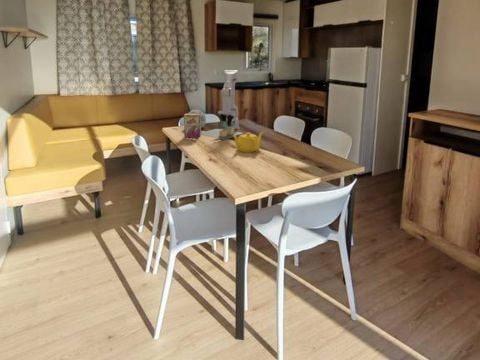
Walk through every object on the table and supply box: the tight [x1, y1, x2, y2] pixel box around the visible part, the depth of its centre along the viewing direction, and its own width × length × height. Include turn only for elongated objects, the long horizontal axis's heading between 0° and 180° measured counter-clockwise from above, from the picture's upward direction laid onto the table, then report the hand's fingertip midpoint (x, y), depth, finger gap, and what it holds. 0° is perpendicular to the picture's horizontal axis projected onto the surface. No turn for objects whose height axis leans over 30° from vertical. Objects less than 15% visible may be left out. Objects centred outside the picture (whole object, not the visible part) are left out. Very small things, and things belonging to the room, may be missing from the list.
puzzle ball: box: [187, 109, 207, 129], centre depth 298 cm, size 15×15×15 cm
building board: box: [201, 128, 245, 141], centre depth 281 cm, size 24×26×5 cm
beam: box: [217, 119, 235, 129], centre depth 275 cm, size 14×4×4 cm, turn 142°
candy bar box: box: [183, 113, 202, 139], centre depth 271 cm, size 11×5×16 cm, turn 84°
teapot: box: [233, 132, 264, 153], centre depth 239 cm, size 22×16×11 cm
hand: (226, 125), depth 275 cm, fingers closed on beam, 4 cm apart
